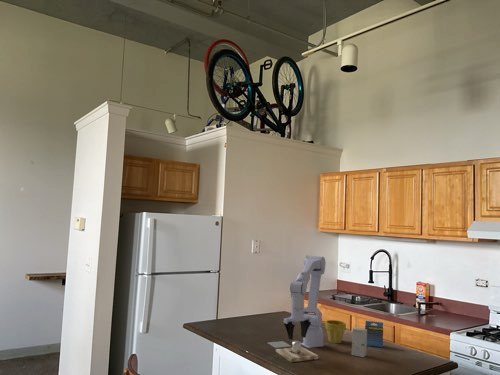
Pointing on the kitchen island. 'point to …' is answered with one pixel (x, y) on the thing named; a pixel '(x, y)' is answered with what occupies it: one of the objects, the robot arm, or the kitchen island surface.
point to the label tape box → (374, 333)
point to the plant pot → (335, 330)
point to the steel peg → (296, 347)
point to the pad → (278, 344)
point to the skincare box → (359, 341)
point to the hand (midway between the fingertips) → (297, 338)
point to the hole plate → (298, 357)
